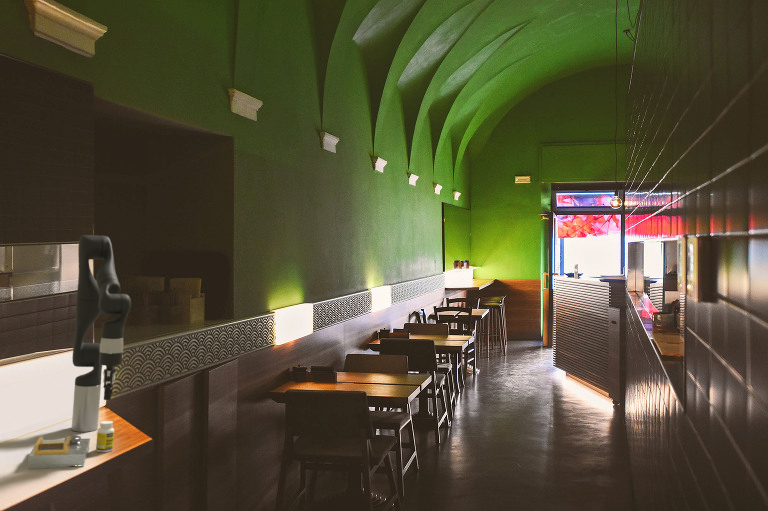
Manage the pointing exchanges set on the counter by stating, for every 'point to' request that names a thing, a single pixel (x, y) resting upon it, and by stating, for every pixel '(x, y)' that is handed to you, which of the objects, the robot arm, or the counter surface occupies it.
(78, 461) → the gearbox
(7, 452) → the counter surface
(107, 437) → the supplement bottle
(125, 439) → the counter surface
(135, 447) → the counter surface
